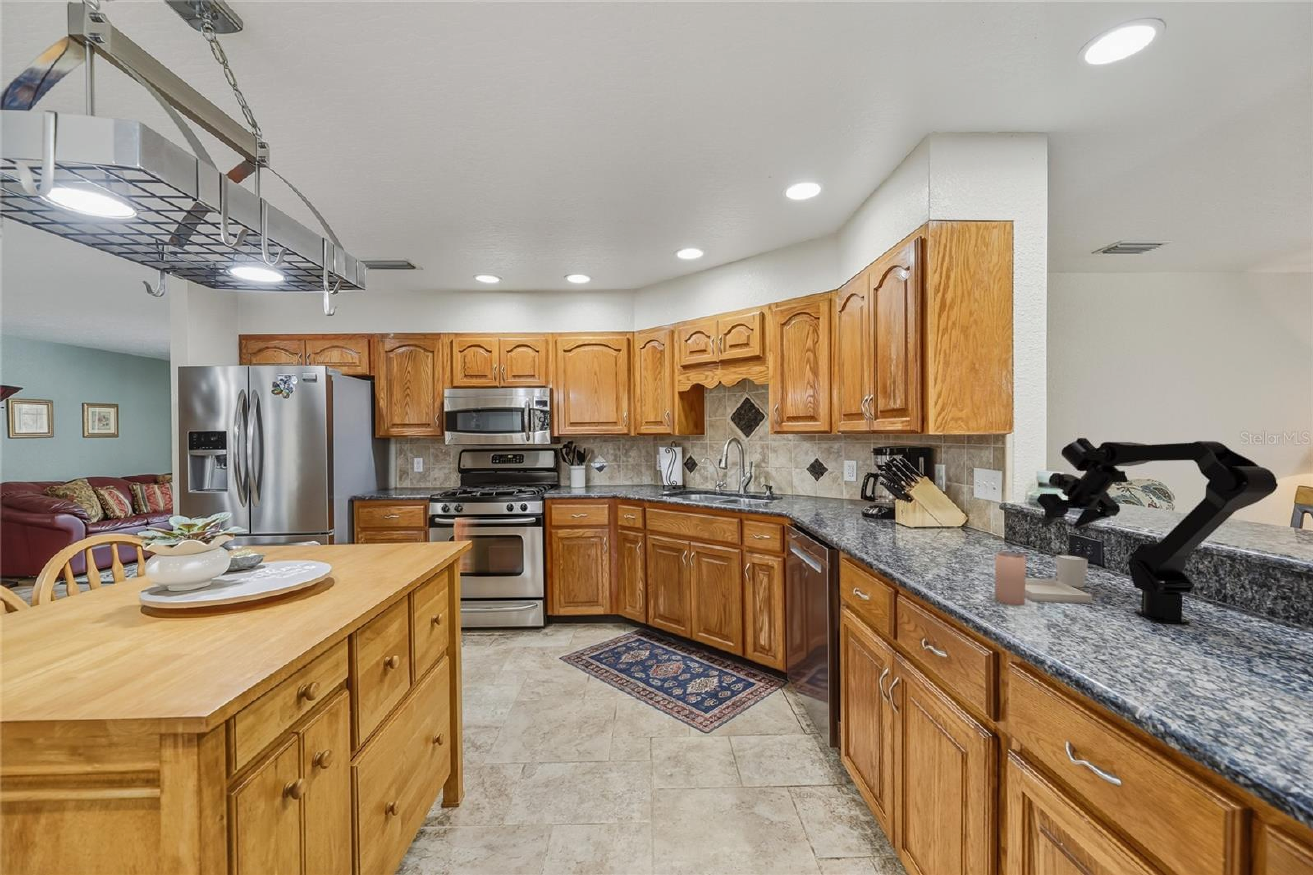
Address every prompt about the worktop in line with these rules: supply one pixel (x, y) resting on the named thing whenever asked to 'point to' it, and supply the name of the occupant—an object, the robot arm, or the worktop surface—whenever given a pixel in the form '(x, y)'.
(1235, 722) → the worktop surface
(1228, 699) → the worktop surface
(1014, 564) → the deep cup
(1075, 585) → the white short cylinder
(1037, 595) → the tray
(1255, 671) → the worktop surface
